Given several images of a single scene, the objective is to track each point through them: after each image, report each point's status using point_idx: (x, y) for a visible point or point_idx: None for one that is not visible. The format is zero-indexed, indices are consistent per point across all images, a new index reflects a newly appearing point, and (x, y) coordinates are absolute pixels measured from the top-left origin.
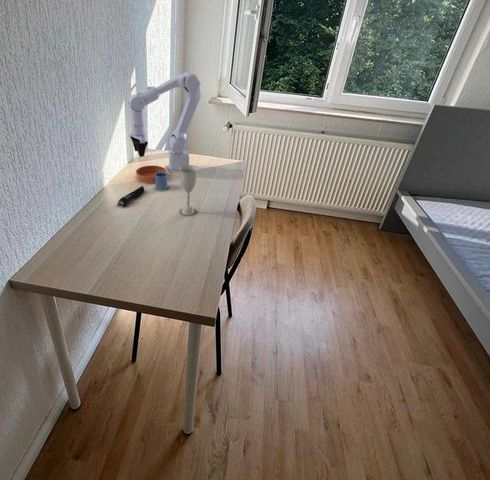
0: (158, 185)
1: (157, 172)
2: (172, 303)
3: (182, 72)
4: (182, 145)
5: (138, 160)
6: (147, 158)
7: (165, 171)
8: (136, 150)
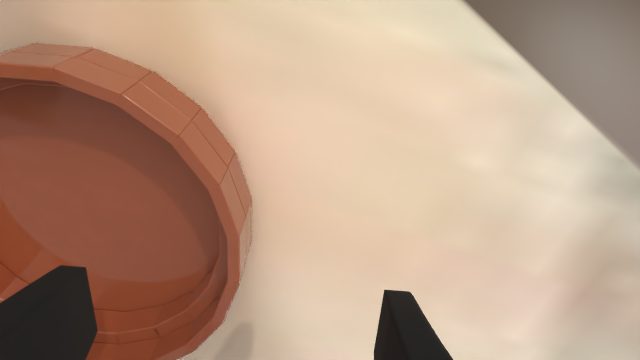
0: None
1: (191, 292)
2: None
3: None
4: None
5: (630, 246)
6: (618, 334)
7: None
8: (383, 319)
